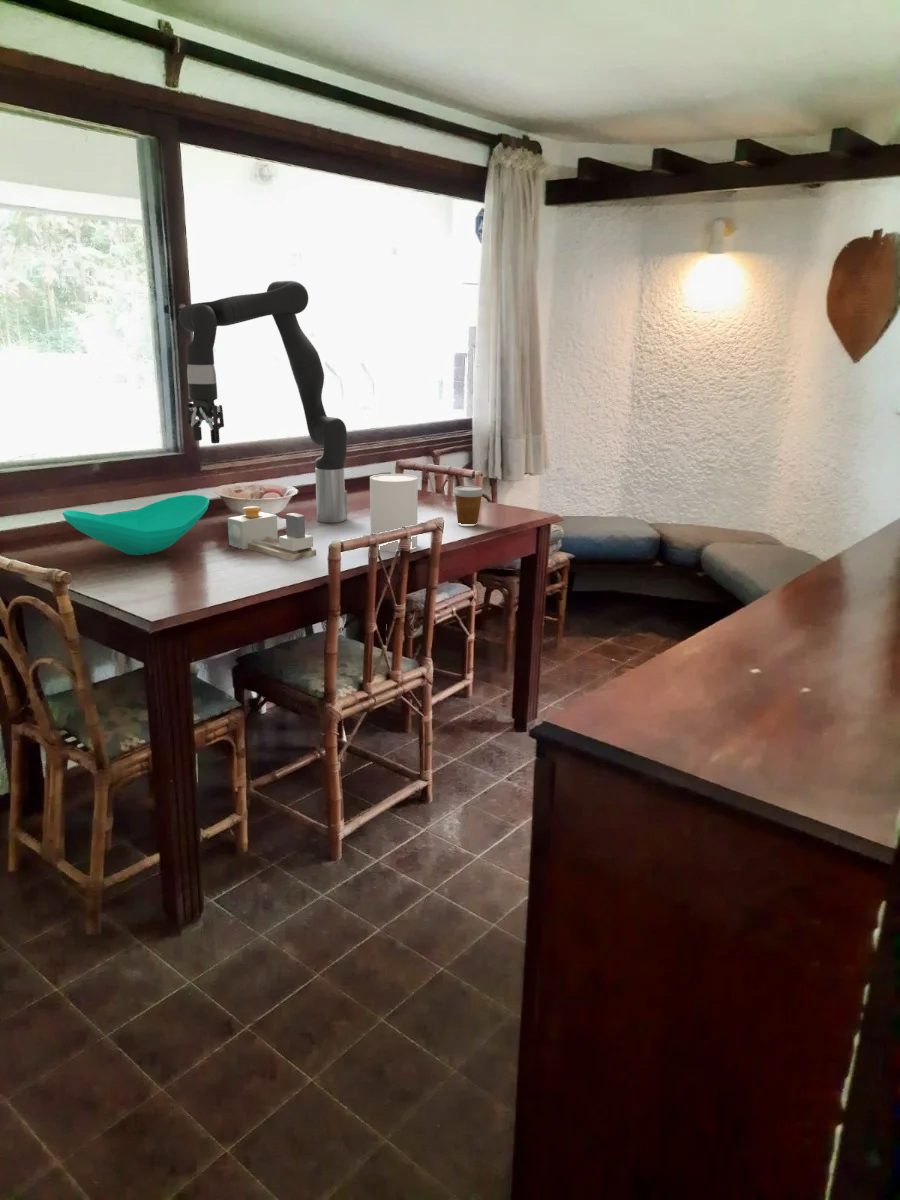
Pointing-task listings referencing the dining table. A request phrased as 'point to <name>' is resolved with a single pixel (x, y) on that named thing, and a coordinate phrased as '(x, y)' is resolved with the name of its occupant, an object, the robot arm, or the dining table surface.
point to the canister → (393, 504)
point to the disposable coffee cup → (468, 503)
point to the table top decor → (142, 524)
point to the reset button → (252, 512)
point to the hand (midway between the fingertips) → (206, 441)
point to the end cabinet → (251, 529)
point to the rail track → (279, 549)
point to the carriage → (295, 534)
